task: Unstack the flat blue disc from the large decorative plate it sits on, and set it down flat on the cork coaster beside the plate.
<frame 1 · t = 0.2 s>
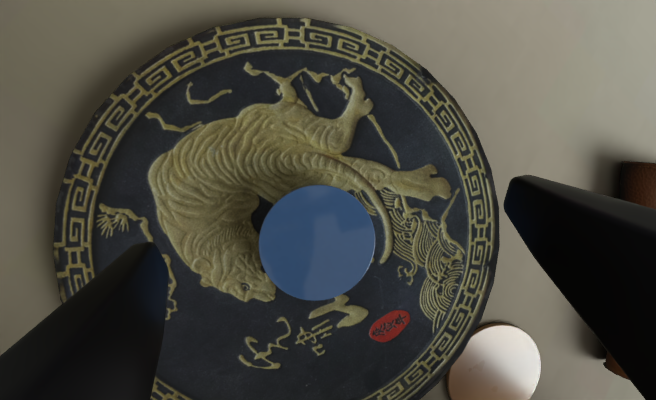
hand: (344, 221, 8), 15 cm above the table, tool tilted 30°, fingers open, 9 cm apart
coaster: (492, 371, 27), on the table
sunglasses case: (636, 261, 29), on the table
flat blue disc: (313, 235, 21), point 2 cm above the table, touching decorative plate
decorative plate: (300, 242, 23), on the table, touching flat blue disc
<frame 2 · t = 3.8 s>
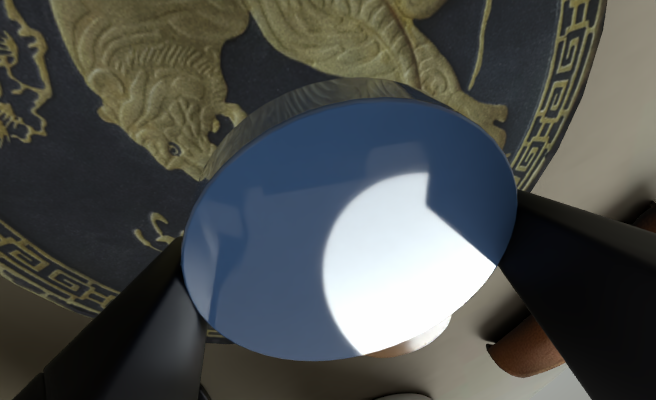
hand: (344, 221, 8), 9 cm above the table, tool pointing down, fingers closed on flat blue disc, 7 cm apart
coaster: (400, 323, 27), on the table
sunglasses case: (574, 285, 29), on the table
flat blue disc: (336, 202, 9), point 8 cm above the table, touching gripper
decorative plate: (279, 120, 15), on the table
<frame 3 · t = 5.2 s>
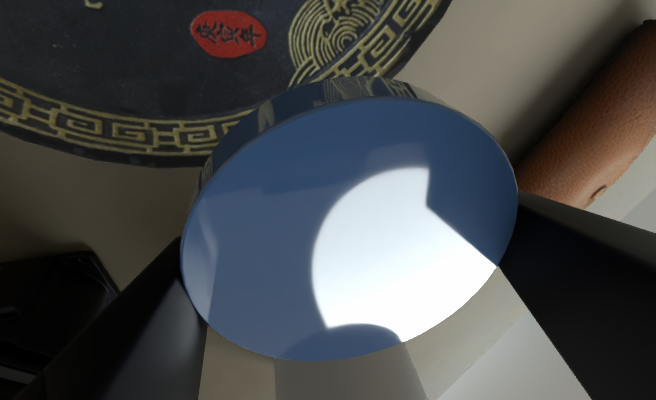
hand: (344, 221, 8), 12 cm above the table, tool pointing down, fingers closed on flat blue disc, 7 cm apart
sunglasses case: (550, 161, 24), on the table
flat blue disc: (336, 202, 9), point 11 cm above the table, touching gripper
cylinder vase: (335, 337, 32), on the table
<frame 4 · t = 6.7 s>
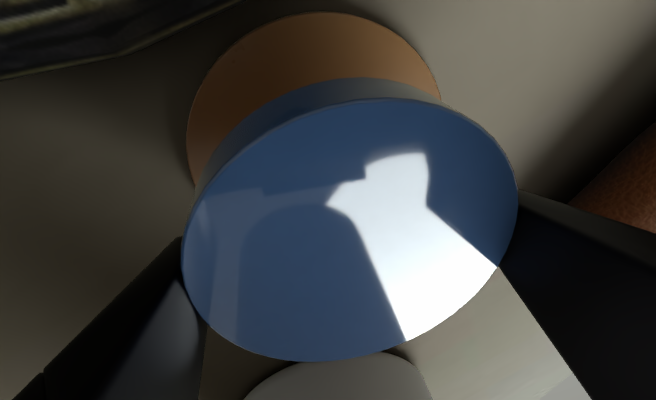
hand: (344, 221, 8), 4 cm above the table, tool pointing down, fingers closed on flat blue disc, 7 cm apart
coaster: (321, 154, 11), on the table
flat blue disc: (336, 203, 9), point 3 cm above the table, touching gripper
cylinder vase: (330, 396, 21), on the table
when the fingers open (1 cm above the table, at t = 8.0 s): flat blue disc stays where it is, resting on coaster.
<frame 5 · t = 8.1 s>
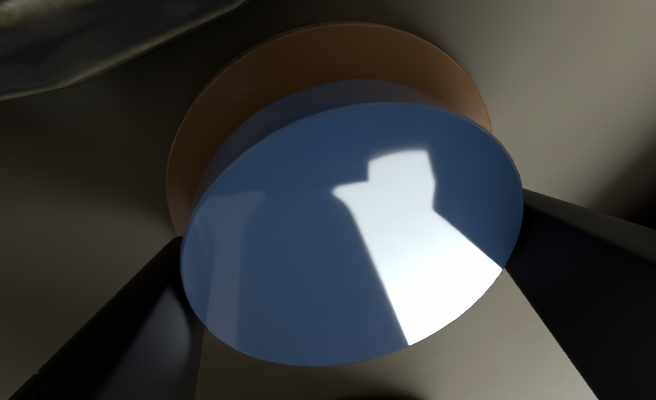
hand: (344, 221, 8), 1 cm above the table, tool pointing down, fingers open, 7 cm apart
coaster: (338, 197, 9), on the table
flat blue disc: (338, 205, 9), resting on coaster
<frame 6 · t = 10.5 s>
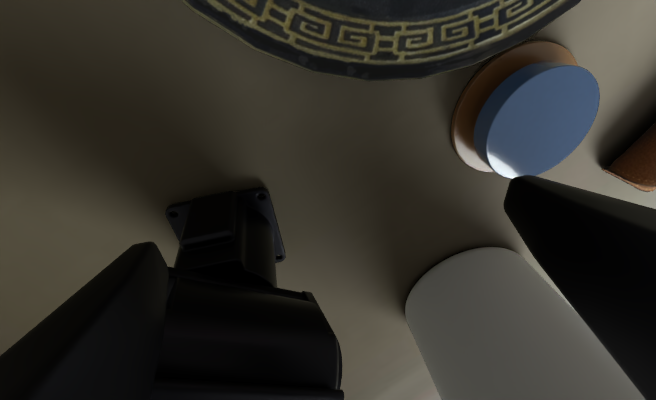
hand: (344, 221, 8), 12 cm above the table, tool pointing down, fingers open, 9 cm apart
coaster: (512, 112, 21), on the table
flat blue disc: (515, 114, 21), resting on coaster
cylinder vase: (461, 288, 32), on the table
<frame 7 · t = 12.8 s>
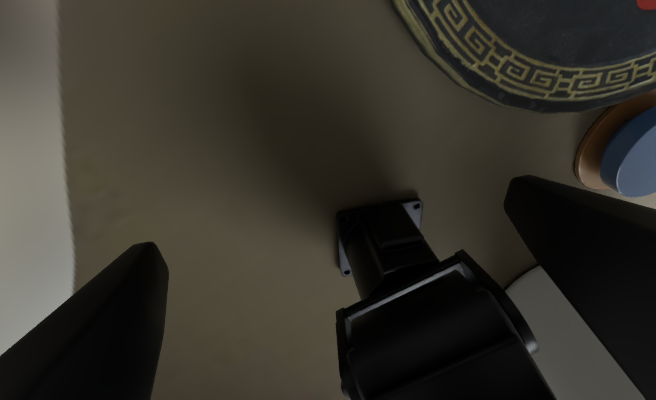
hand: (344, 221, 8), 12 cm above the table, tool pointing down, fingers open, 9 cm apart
coaster: (628, 139, 25), on the table
flat blue disc: (632, 141, 24), resting on coaster
cylinder vase: (542, 292, 35), on the table
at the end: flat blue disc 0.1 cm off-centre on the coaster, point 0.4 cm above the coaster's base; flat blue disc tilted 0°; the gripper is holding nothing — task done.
